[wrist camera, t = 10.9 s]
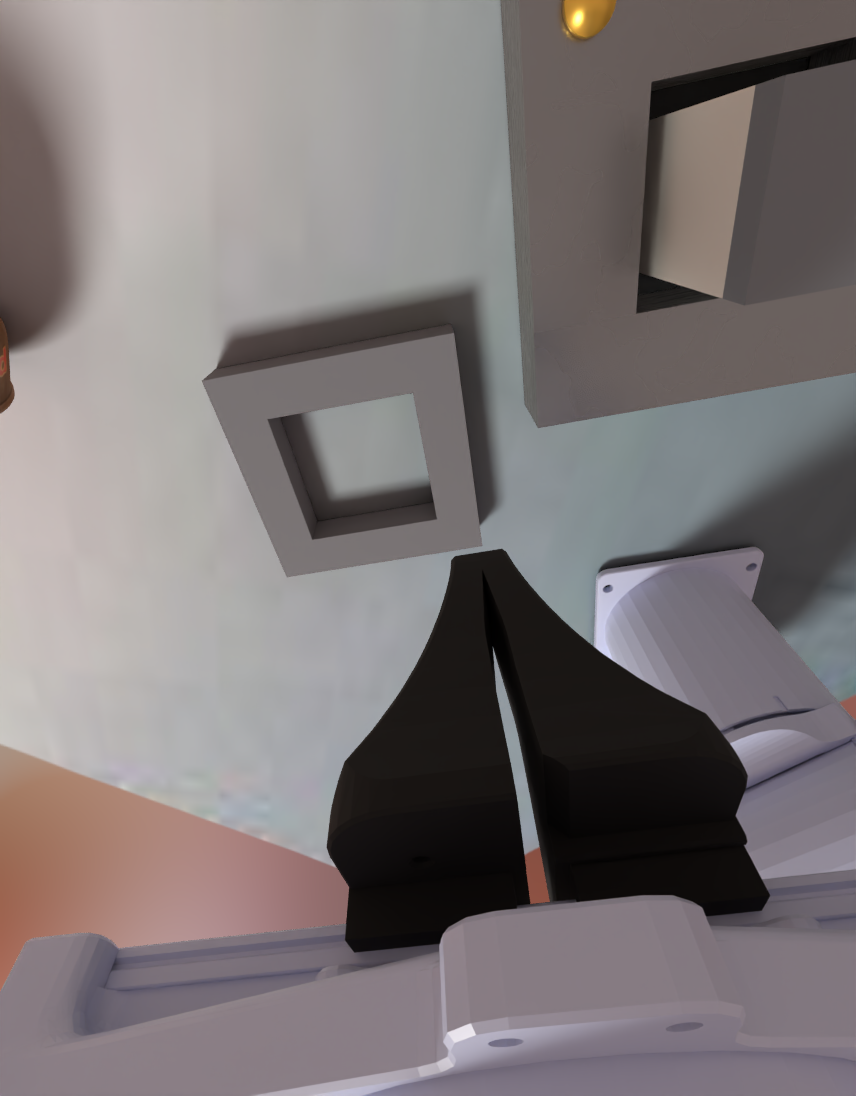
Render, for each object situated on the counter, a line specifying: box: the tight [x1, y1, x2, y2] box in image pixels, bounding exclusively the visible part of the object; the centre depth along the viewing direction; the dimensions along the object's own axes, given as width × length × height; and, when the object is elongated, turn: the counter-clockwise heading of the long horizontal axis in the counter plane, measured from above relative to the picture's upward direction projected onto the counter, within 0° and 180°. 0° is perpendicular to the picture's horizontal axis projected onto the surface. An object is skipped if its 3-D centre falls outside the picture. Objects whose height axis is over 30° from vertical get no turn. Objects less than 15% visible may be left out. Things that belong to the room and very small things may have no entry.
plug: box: [639, 60, 856, 306], centre depth 13 cm, size 4×4×7 cm
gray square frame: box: [202, 324, 482, 577], centre depth 20 cm, size 9×9×2 cm
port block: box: [501, 0, 856, 428], centre depth 15 cm, size 12×12×3 cm
